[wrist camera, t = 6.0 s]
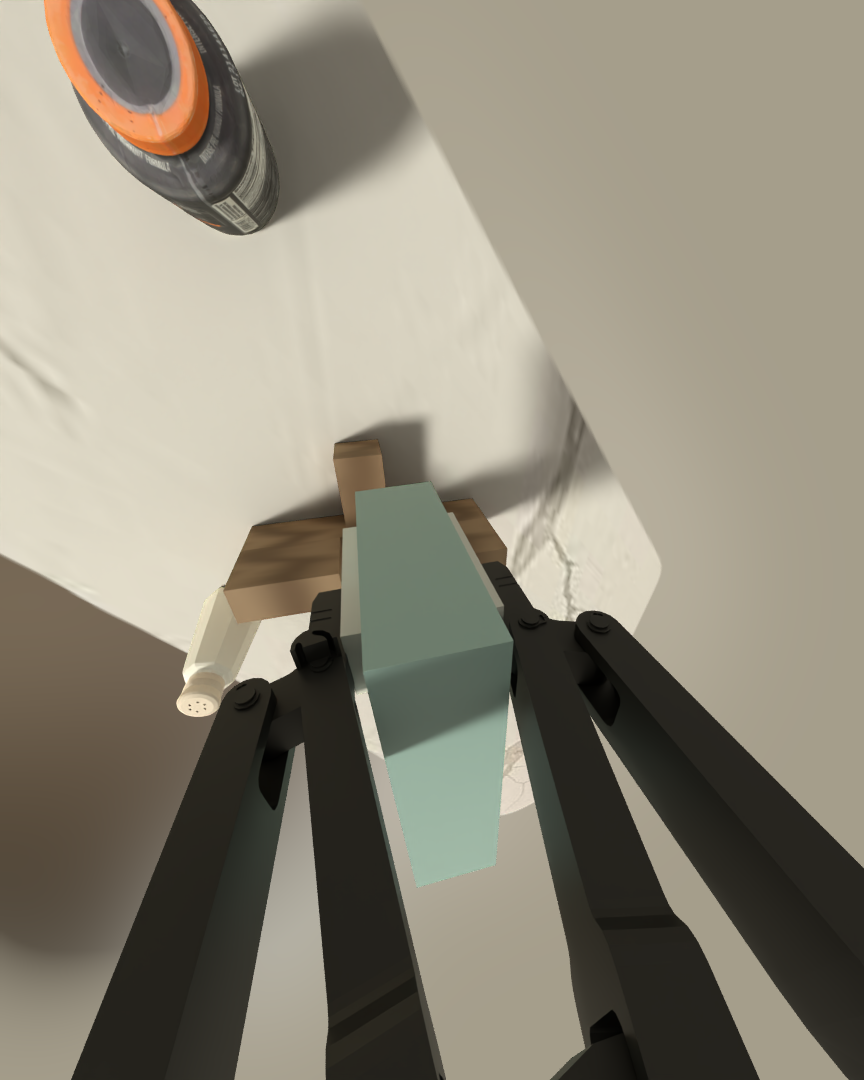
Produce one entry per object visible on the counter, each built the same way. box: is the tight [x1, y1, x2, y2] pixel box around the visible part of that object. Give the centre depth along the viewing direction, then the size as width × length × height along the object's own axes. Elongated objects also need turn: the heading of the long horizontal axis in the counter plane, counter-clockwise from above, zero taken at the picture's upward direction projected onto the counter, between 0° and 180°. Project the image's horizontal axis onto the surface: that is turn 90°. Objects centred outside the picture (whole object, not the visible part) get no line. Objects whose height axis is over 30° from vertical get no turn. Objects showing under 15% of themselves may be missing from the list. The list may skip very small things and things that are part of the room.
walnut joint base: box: [223, 439, 507, 624], centre depth 30 cm, size 20×16×9 cm
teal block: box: [355, 481, 513, 888], centre depth 16 cm, size 14×4×10 cm, turn 3°
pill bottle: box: [44, 0, 279, 235], centre depth 16 cm, size 6×6×11 cm
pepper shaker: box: [177, 587, 261, 717], centre depth 31 cm, size 5×5×11 cm
